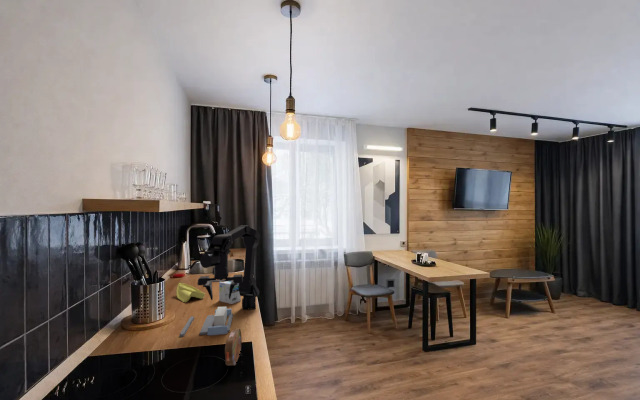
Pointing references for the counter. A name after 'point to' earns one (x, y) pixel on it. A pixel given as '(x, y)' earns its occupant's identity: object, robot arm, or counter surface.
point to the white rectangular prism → (220, 316)
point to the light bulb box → (224, 293)
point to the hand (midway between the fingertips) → (220, 299)
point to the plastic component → (188, 292)
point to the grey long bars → (205, 325)
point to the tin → (233, 347)
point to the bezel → (219, 327)
